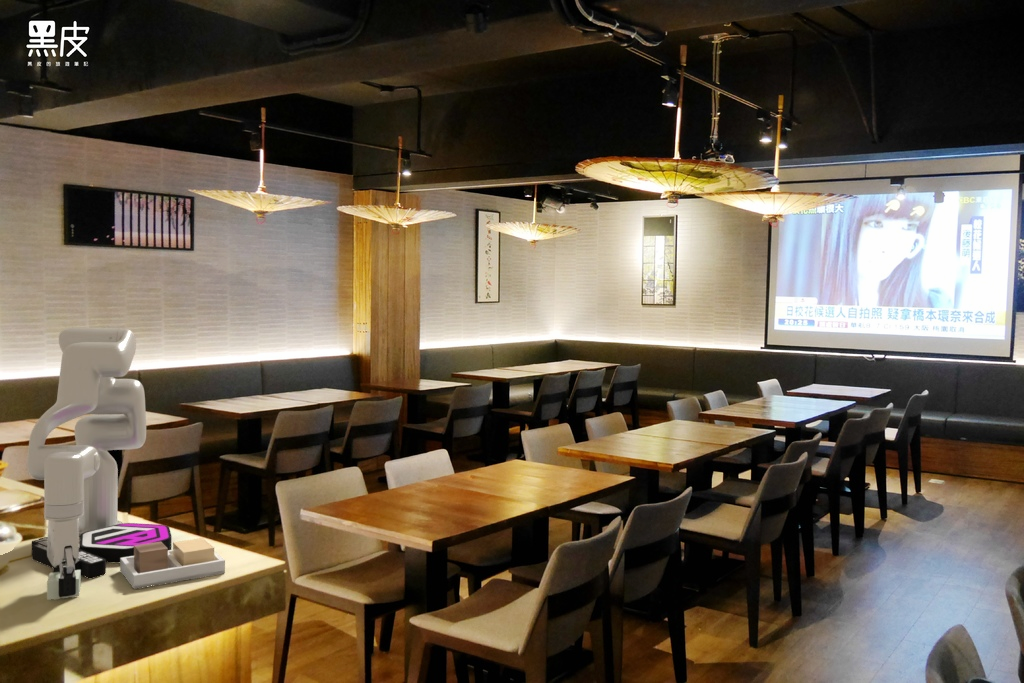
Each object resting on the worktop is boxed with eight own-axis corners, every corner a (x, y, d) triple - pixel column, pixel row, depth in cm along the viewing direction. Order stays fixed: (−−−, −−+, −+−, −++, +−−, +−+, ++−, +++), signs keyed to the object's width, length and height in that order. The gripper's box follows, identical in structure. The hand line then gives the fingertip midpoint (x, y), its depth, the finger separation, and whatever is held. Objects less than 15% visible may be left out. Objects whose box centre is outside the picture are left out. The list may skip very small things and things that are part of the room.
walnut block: (133, 570, 194) (134, 545, 193) (161, 566, 197) (161, 541, 197) (140, 578, 189) (140, 552, 189) (167, 573, 193) (167, 548, 192)
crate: (120, 571, 195) (120, 547, 195) (206, 556, 207) (206, 534, 207) (134, 589, 184) (134, 564, 184) (224, 573, 196) (225, 549, 196)
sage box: (49, 590, 182) (49, 572, 182) (80, 587, 185) (80, 569, 184) (47, 600, 177) (47, 581, 176) (78, 596, 179) (78, 578, 179)
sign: (83, 582, 189) (198, 550, 214) (83, 566, 188) (198, 535, 213) (23, 557, 204) (136, 530, 229) (23, 542, 203) (136, 516, 228)
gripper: (38, 502, 184) (38, 581, 185) (50, 522, 170) (51, 606, 171) (76, 498, 189) (76, 575, 190) (91, 517, 175) (91, 599, 176)
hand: (64, 589), depth 181 cm, fingers closed on sage box, 6 cm apart
